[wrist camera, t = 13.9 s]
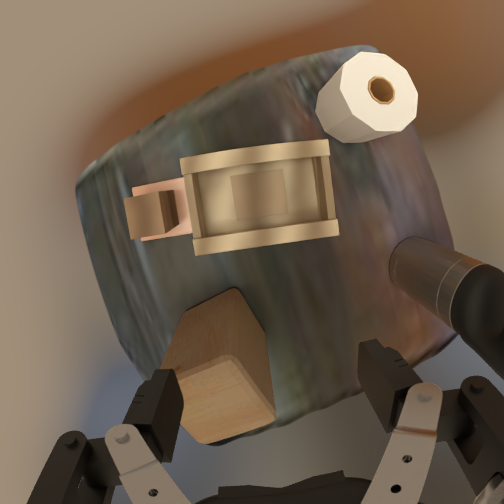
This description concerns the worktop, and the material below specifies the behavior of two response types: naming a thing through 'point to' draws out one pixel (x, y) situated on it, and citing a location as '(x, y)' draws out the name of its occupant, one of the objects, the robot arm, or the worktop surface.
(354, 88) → the toilet paper
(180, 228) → the tile
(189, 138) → the worktop surface
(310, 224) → the crate
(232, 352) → the wooden block
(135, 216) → the walnut block
